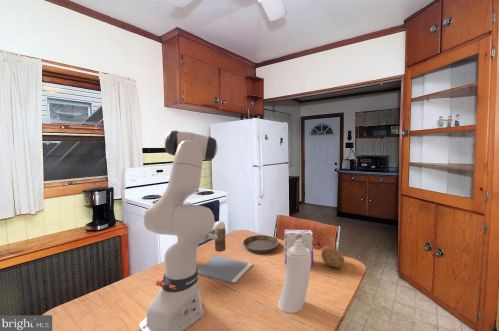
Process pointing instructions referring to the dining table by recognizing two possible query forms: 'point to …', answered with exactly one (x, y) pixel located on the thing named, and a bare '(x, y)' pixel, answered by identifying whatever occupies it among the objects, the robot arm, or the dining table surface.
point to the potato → (332, 257)
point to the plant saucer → (260, 243)
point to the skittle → (220, 236)
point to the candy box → (299, 235)
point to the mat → (224, 269)
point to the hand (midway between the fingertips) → (221, 234)
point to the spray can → (295, 278)
